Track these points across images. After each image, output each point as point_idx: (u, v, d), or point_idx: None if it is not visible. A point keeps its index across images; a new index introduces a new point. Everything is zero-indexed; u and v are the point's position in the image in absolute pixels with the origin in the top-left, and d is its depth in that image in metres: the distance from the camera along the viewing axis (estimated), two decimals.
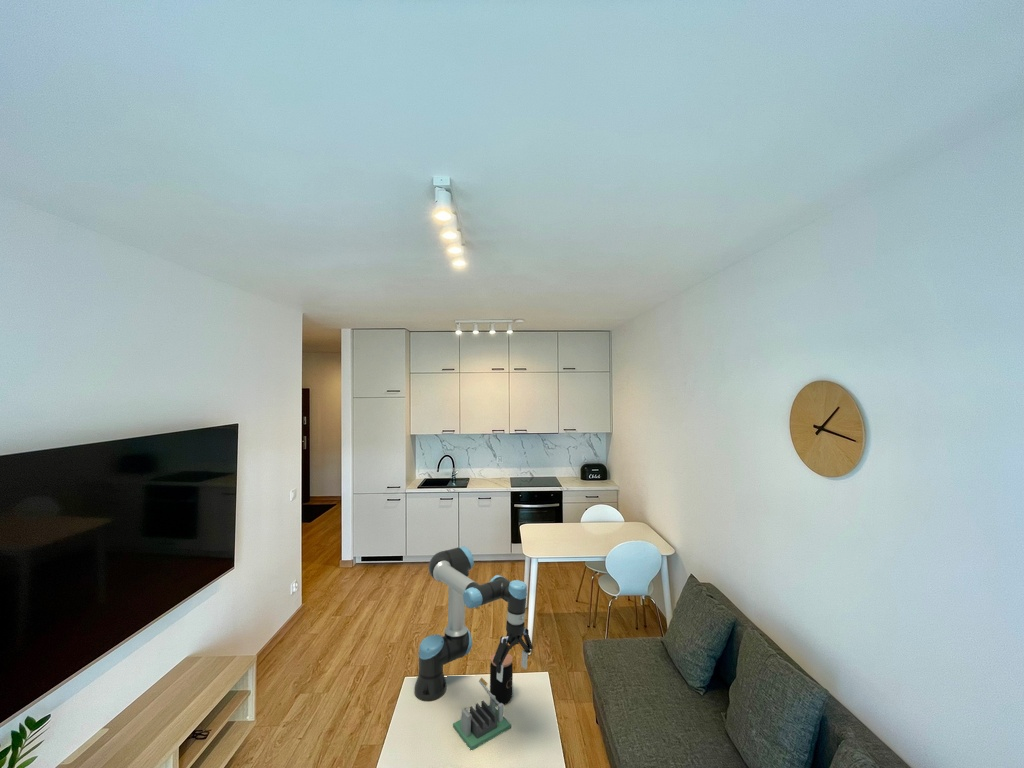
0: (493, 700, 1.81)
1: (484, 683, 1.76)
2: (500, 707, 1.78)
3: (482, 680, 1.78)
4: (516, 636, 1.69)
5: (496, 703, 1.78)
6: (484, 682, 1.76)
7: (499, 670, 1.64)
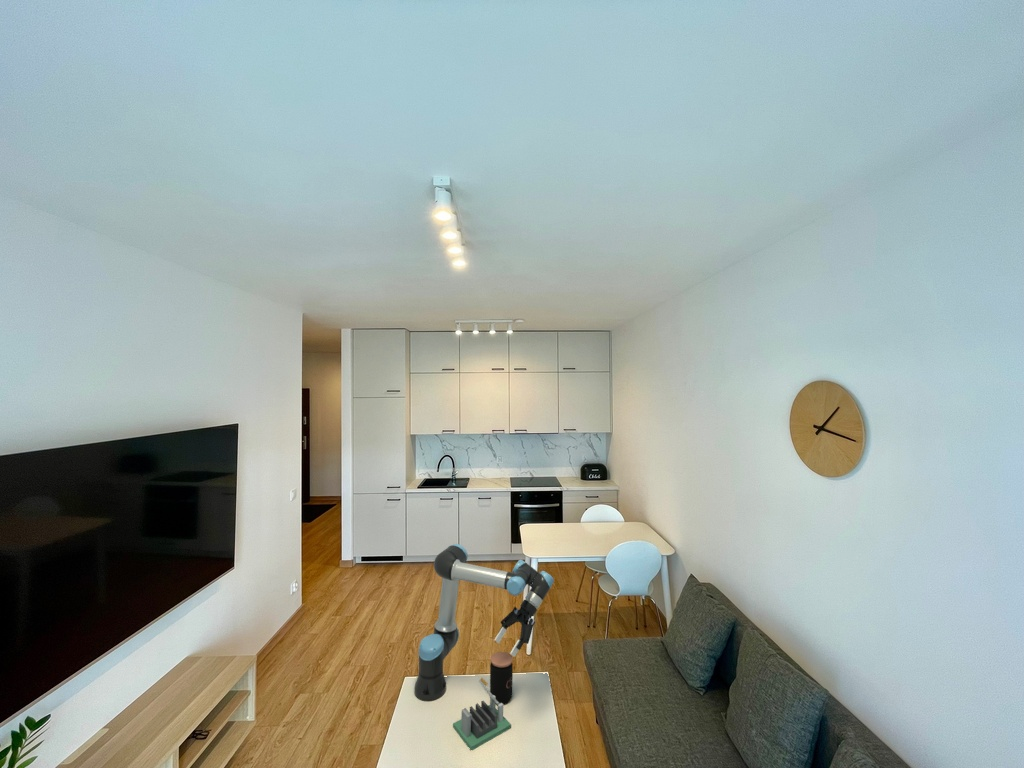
0: (493, 700, 1.81)
1: (484, 683, 1.76)
2: (500, 707, 1.78)
3: (482, 680, 1.78)
4: None
5: (496, 703, 1.78)
6: (484, 682, 1.76)
7: None
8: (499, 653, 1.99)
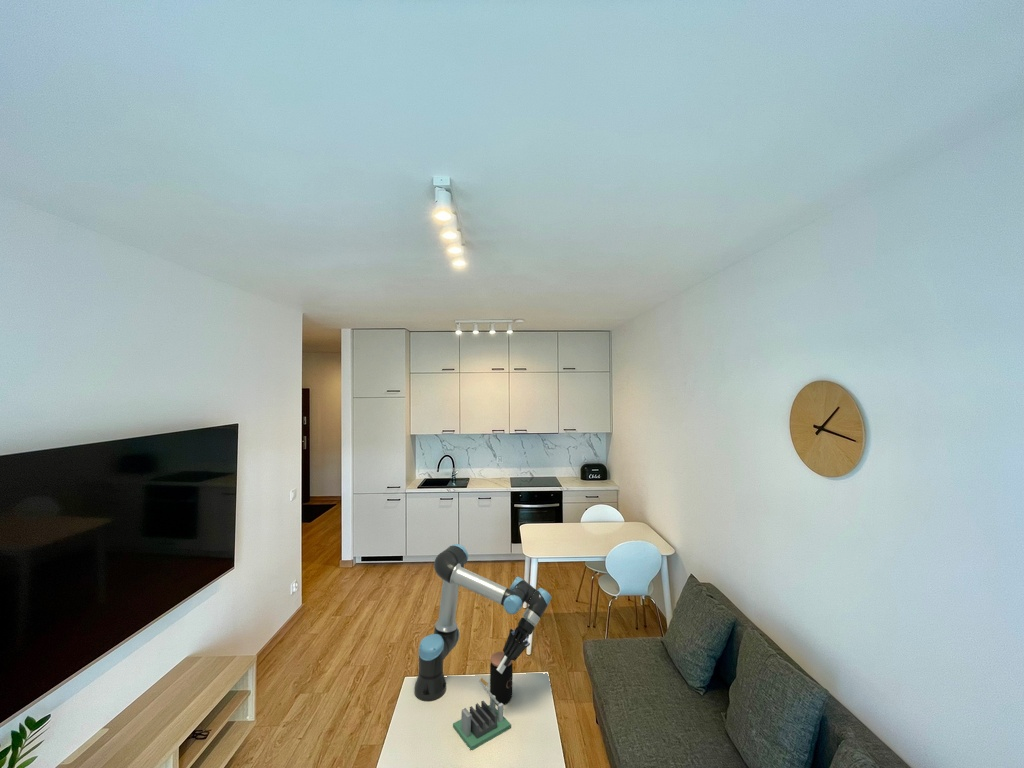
0: (493, 700, 1.81)
1: (484, 683, 1.76)
2: (500, 707, 1.78)
3: (482, 680, 1.78)
4: None
5: (496, 703, 1.78)
6: (484, 682, 1.76)
7: None
8: (499, 653, 1.99)
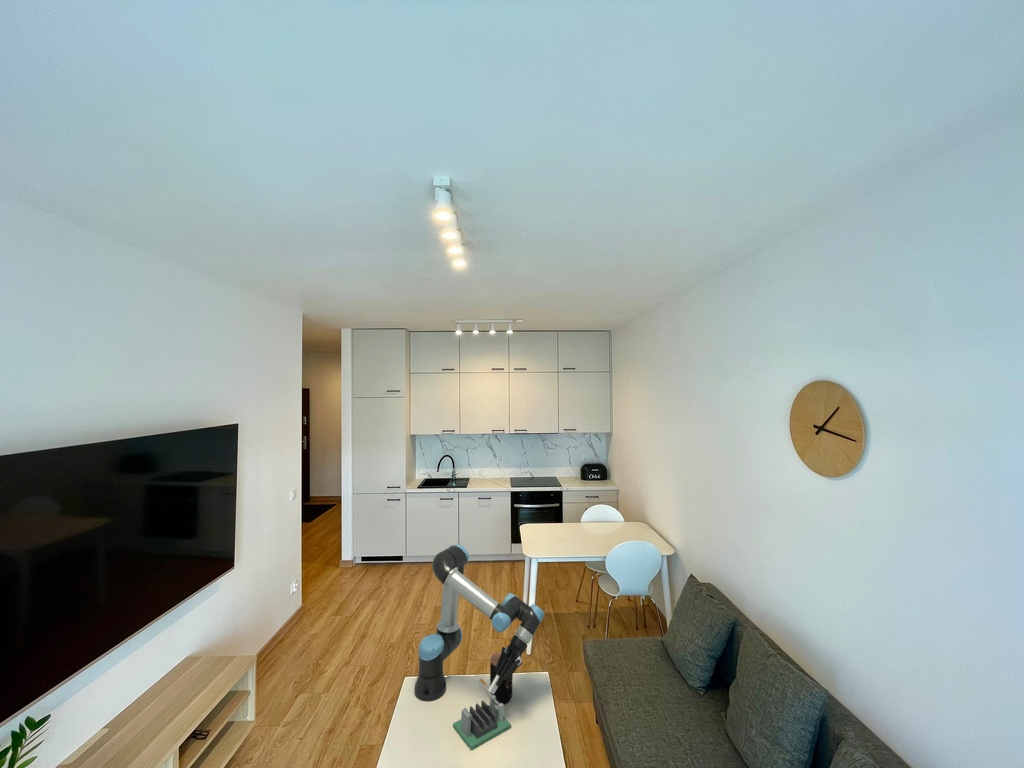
0: (493, 700, 1.81)
1: (484, 684, 1.76)
2: (500, 707, 1.78)
3: (482, 681, 1.77)
4: None
5: (496, 703, 1.78)
6: (484, 683, 1.76)
7: None
8: (499, 653, 1.99)
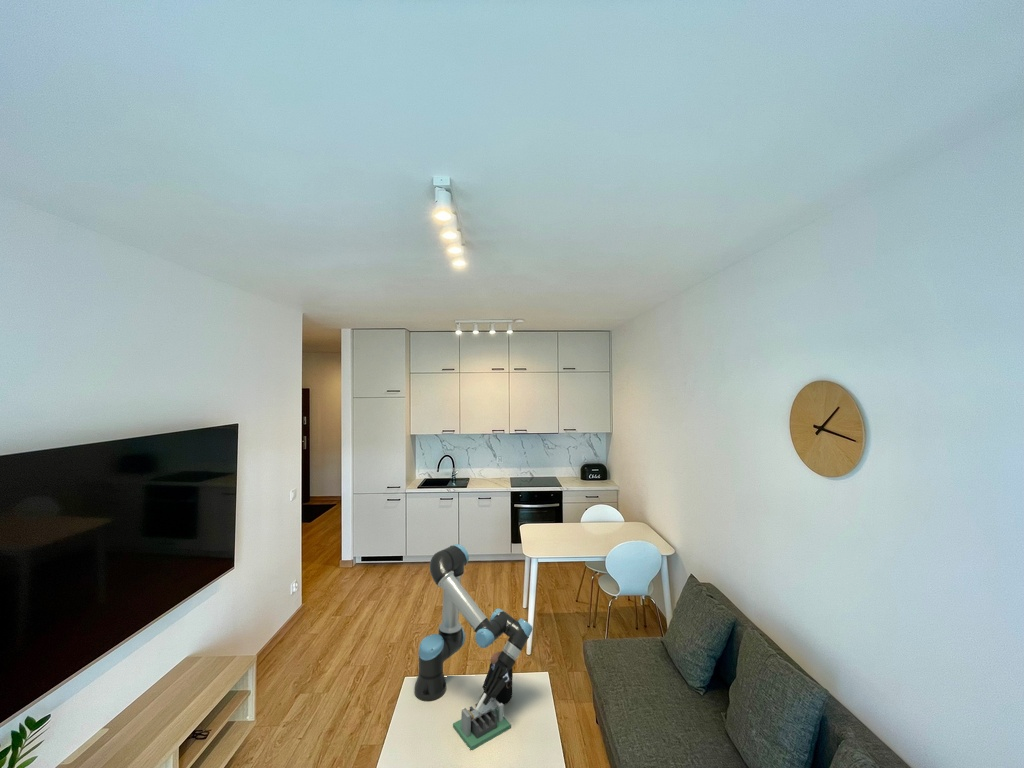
0: None
1: None
2: (500, 707, 1.78)
3: None
4: None
5: None
6: None
7: None
8: (499, 653, 1.99)
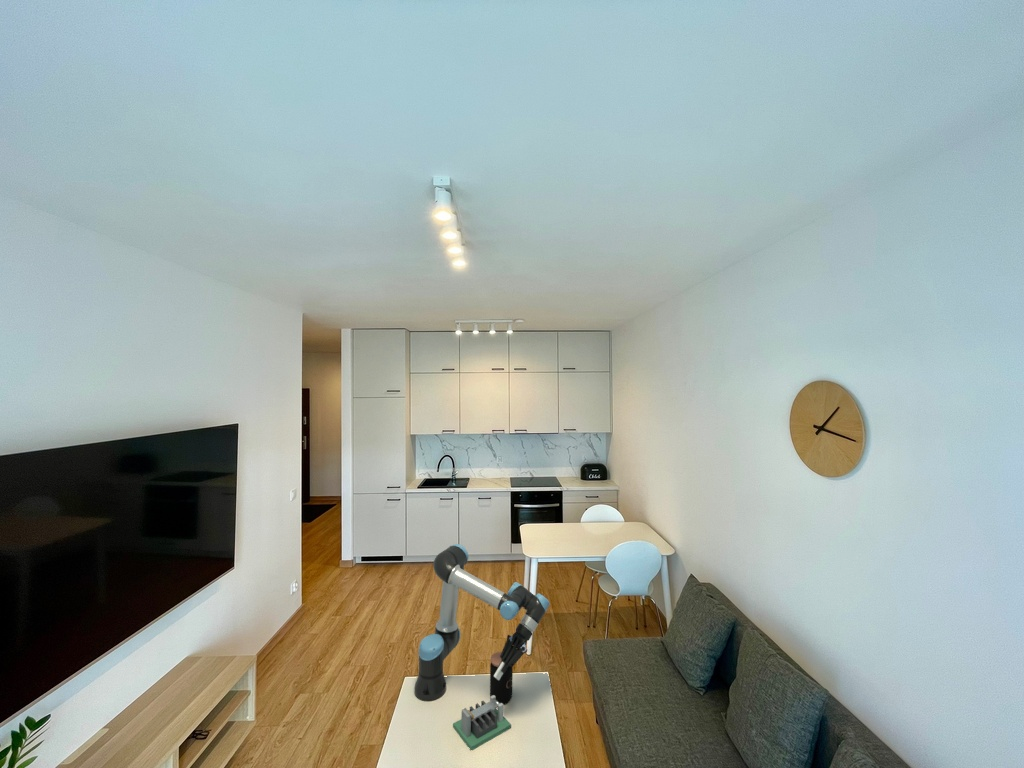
0: None
1: None
2: (500, 707, 1.78)
3: None
4: None
5: None
6: None
7: None
8: (499, 653, 1.99)
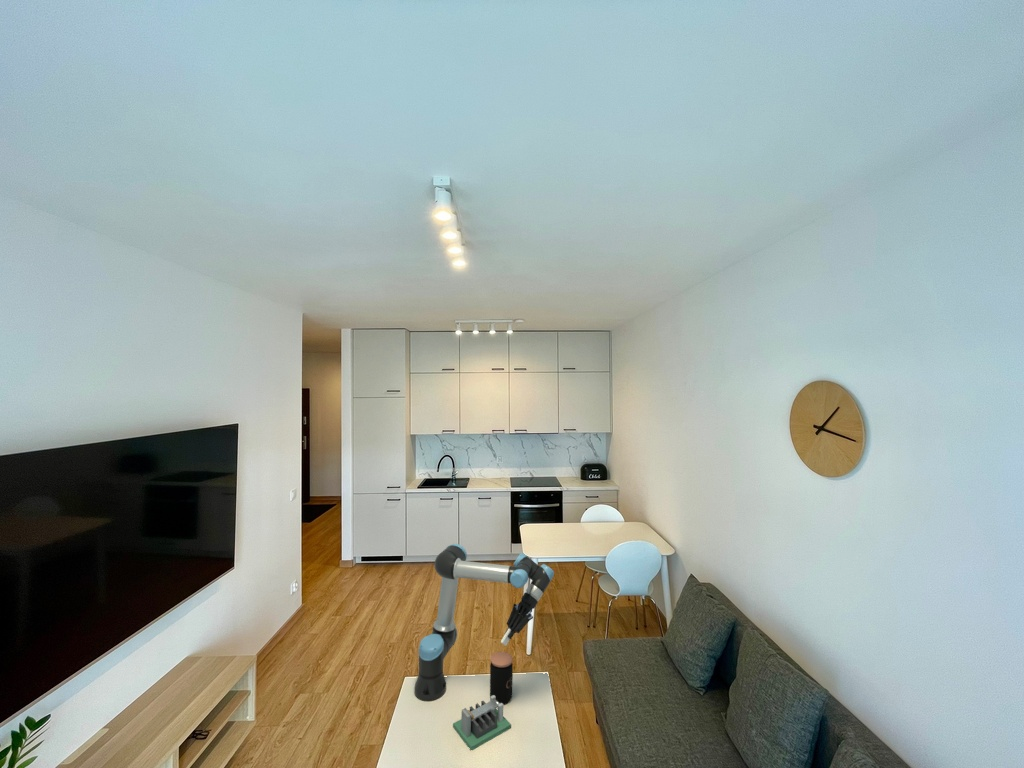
0: None
1: None
2: (500, 707, 1.78)
3: None
4: None
5: None
6: None
7: None
8: (499, 653, 1.99)
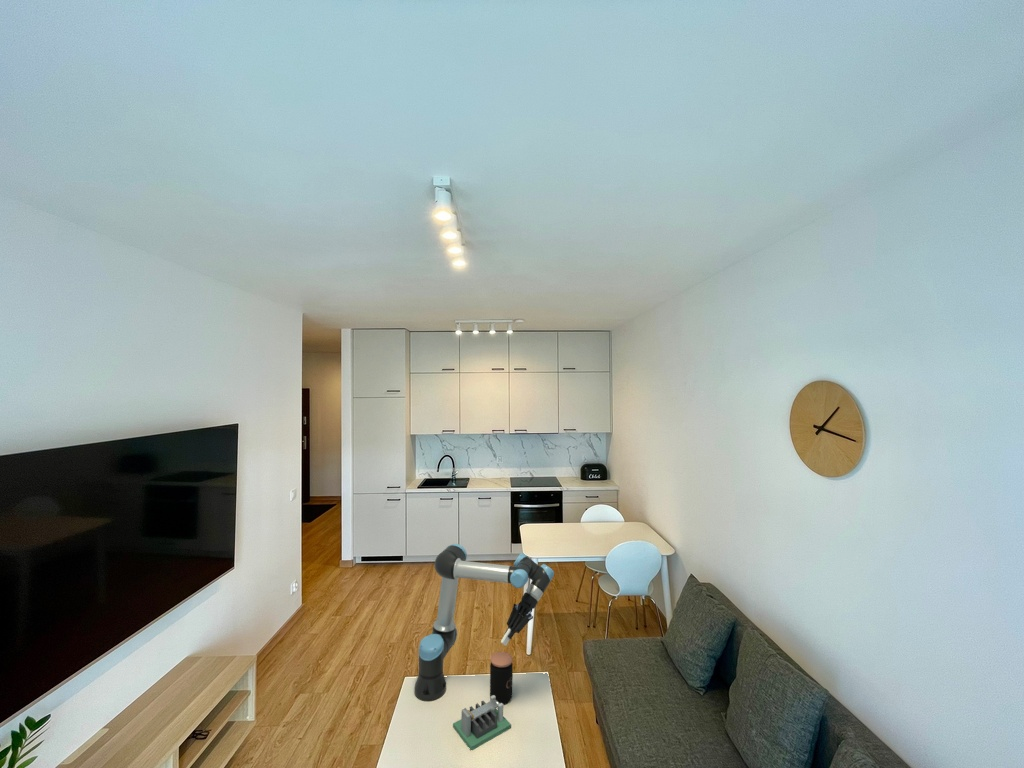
0: None
1: None
2: (500, 707, 1.78)
3: None
4: None
5: None
6: None
7: None
8: (499, 653, 1.99)
